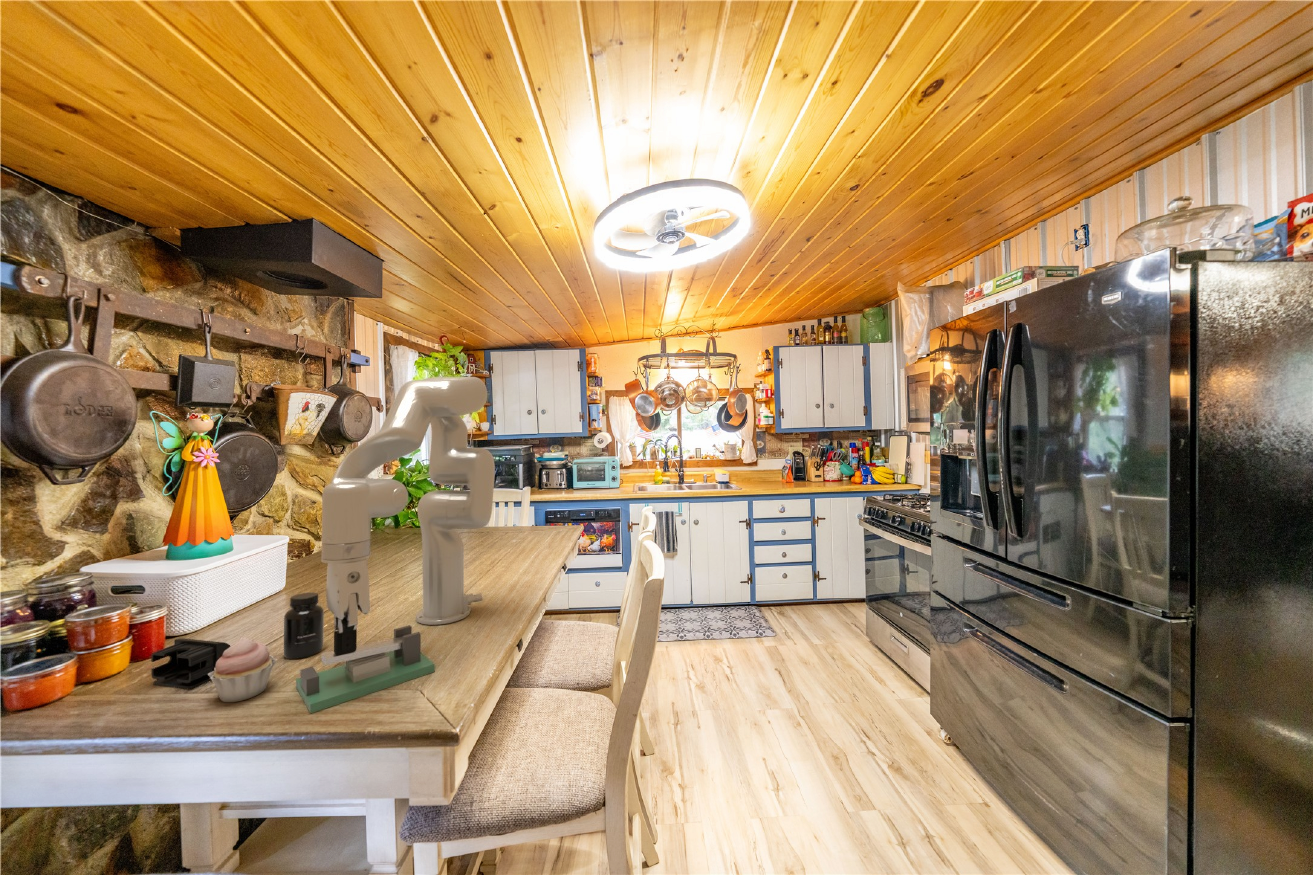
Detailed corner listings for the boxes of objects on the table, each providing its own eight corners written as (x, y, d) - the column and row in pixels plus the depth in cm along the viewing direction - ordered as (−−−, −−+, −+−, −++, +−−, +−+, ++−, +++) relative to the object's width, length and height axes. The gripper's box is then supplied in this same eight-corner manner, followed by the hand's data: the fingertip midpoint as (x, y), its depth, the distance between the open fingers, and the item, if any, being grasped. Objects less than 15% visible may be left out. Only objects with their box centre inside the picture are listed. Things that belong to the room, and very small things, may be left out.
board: (412, 652, 104) (412, 619, 104) (434, 671, 96) (434, 635, 95) (296, 686, 90) (295, 648, 90) (310, 713, 81) (310, 671, 81)
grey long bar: (408, 642, 99) (408, 634, 99) (413, 646, 97) (414, 638, 97) (321, 661, 89) (321, 652, 89) (325, 666, 87) (325, 657, 87)
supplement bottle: (303, 661, 100) (302, 602, 100) (275, 658, 101) (274, 599, 101) (331, 646, 107) (331, 591, 106) (305, 644, 108) (304, 589, 108)
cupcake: (259, 676, 94) (258, 623, 94) (287, 686, 90) (287, 632, 90) (196, 700, 85) (195, 642, 85) (225, 713, 81) (224, 652, 81)
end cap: (233, 671, 96) (233, 636, 96) (193, 690, 89) (192, 653, 89) (192, 667, 98) (192, 632, 98) (149, 685, 91) (149, 648, 91)
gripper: (382, 553, 87) (381, 658, 87) (358, 542, 98) (357, 635, 97) (332, 560, 82) (331, 672, 82) (312, 547, 92) (311, 646, 92)
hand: (345, 652), depth 90 cm, fingers closed
